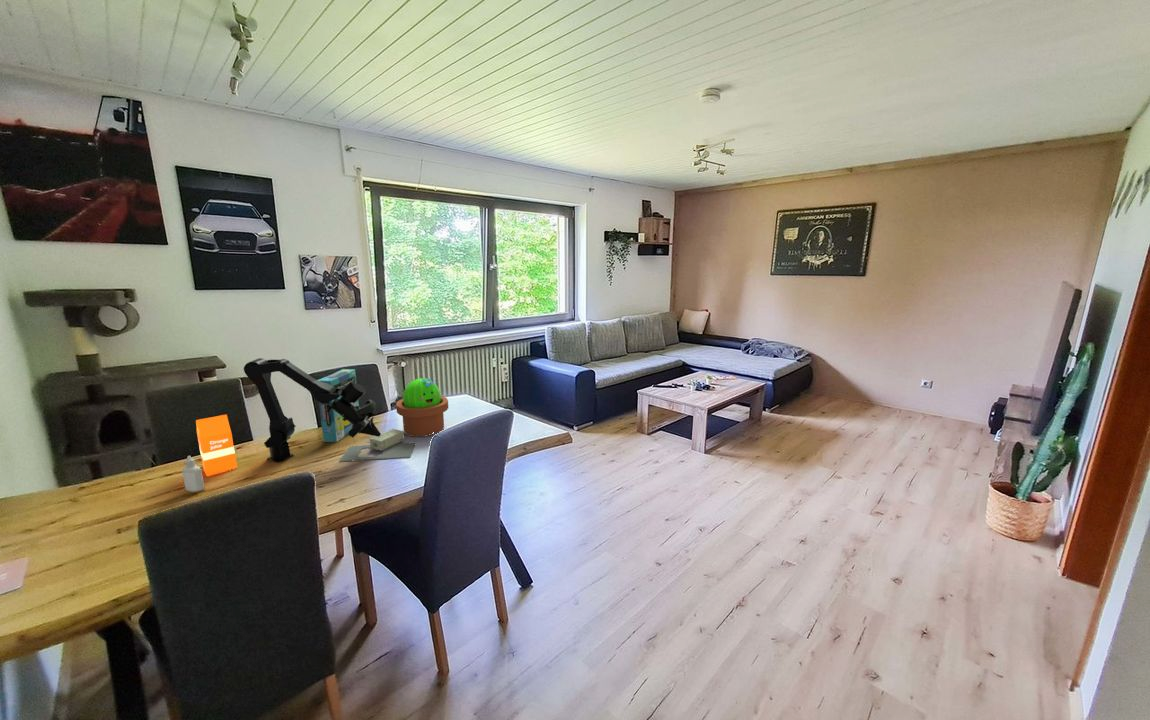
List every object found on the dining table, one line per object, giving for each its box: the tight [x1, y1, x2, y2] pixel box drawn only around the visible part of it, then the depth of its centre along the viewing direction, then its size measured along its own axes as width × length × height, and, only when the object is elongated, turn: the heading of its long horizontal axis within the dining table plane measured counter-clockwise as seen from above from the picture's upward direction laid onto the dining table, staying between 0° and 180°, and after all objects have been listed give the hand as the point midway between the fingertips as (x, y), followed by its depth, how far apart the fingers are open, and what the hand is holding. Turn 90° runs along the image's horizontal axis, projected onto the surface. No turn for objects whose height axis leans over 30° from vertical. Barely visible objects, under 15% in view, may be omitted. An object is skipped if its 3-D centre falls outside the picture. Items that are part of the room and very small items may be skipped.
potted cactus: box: [395, 377, 449, 437], centre depth 196 cm, size 22×22×25 cm
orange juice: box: [195, 414, 238, 477], centre depth 157 cm, size 8×9×20 cm
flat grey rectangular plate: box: [338, 442, 417, 462], centre depth 175 cm, size 26×14×1 cm, turn 101°
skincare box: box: [369, 428, 405, 452], centre depth 181 cm, size 6×4×12 cm
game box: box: [317, 368, 360, 443], centre depth 190 cm, size 20×6×27 cm, turn 179°
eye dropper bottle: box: [181, 455, 205, 493], centre depth 143 cm, size 4×6×12 cm
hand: (380, 435), depth 173 cm, fingers closed
